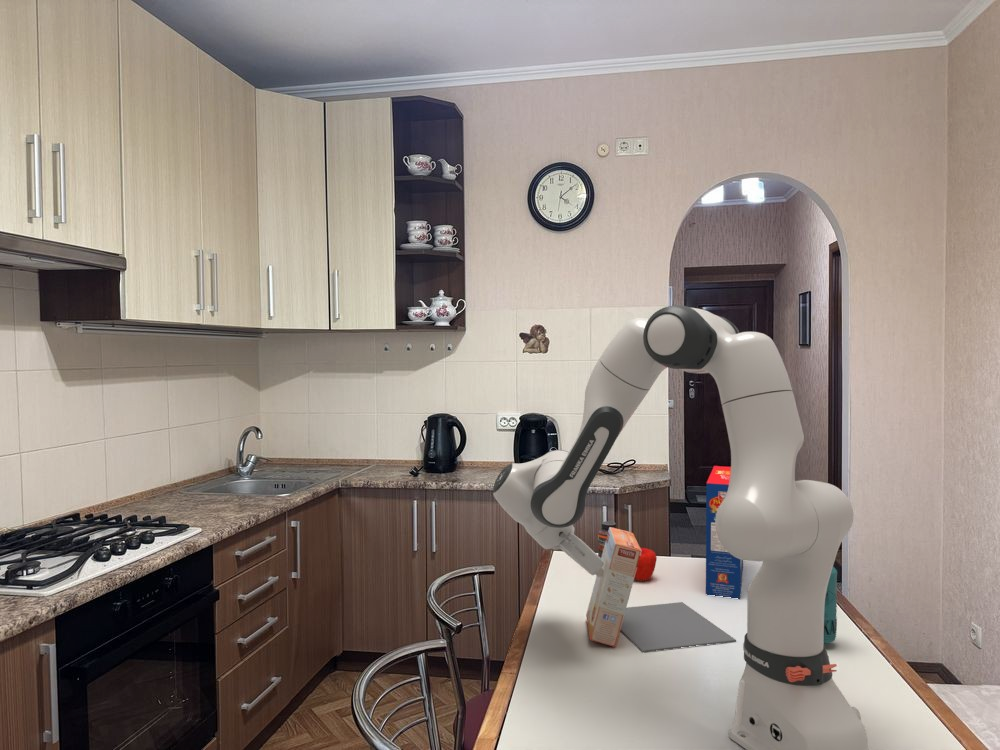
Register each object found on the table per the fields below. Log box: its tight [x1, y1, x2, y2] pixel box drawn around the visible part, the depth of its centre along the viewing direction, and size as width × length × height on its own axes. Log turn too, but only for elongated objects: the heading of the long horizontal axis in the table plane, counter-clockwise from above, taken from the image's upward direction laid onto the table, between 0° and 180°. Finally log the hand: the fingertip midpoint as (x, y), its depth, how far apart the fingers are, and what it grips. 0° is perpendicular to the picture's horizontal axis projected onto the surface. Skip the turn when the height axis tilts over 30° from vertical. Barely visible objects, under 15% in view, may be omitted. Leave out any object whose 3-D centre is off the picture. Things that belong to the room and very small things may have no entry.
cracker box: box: [586, 527, 641, 648], centre depth 141 cm, size 14×6×21 cm, turn 175°
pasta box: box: [705, 465, 744, 600], centre depth 176 cm, size 28×8×28 cm, turn 158°
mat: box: [620, 601, 737, 653], centre depth 146 cm, size 22×21×1 cm
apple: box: [634, 547, 658, 582], centre depth 177 cm, size 9×9×8 cm
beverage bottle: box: [823, 566, 838, 644], centre depth 136 cm, size 6×7×20 cm
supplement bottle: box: [597, 520, 617, 558], centre depth 192 cm, size 6×6×11 cm
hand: (596, 569), depth 142 cm, fingers open, 3 cm apart
